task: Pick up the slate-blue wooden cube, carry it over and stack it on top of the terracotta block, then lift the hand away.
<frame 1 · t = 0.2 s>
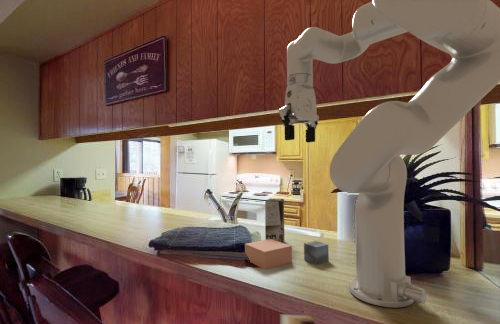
hand: (300, 141, 79), 36 cm above the countertop, tool pointing down, fingers open, 9 cm apart
slate cube: (316, 260, 80), on the countertop
terracotta block: (268, 261, 80), on the countertop
coffee box: (275, 243, 99), on the countertop
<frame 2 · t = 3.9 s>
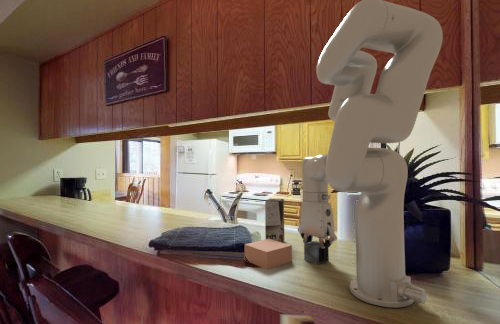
hand: (316, 258, 80), 1 cm above the countertop, tool pointing down, fingers closed on slate cube, 5 cm apart
slate cube: (316, 260, 80), on the countertop, touching gripper
everything else where it was.
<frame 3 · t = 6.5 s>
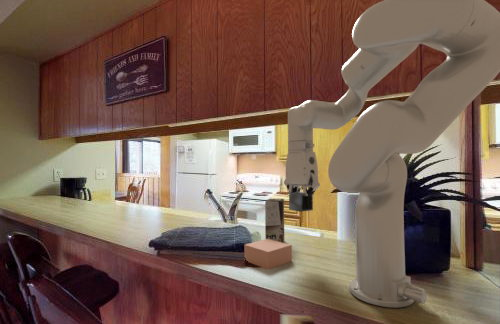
hand: (300, 207, 81), 16 cm above the countertop, tool pointing down, fingers closed on slate cube, 5 cm apart
slate cube: (300, 209, 81), point 15 cm above the countertop, touching gripper
everything else where it was.
when the fingers open (7 cm above the countertop, at t = 9.5 s): slate cube drops 2 cm, resting on terracotta block.
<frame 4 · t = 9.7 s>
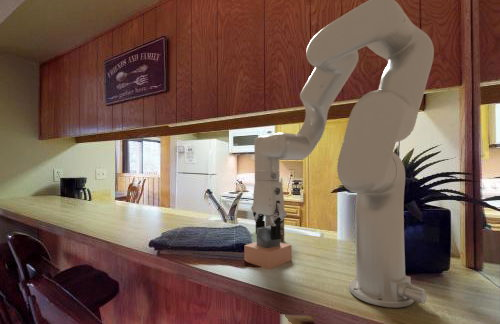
hand: (267, 236, 80), 7 cm above the countertop, tool pointing down, fingers open, 7 cm apart
slate cube: (268, 244, 80), point 5 cm above the countertop, touching terracotta block
terracotta block: (268, 261, 80), on the countertop, touching slate cube
everything else where it was.
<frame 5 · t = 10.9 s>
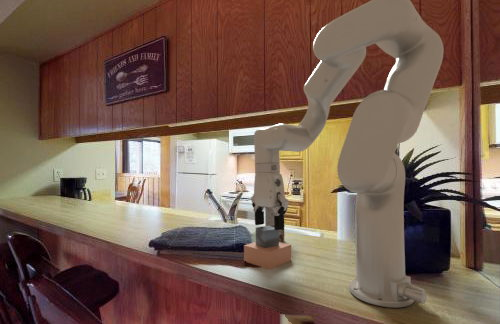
hand: (269, 226, 80), 10 cm above the countertop, tool pointing down, fingers open, 9 cm apart
nothing on the countertop moved.
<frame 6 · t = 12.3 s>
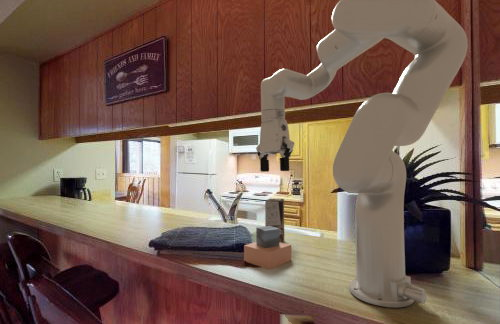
hand: (274, 171, 84), 27 cm above the countertop, tool pointing down, fingers open, 9 cm apart
nothing on the countertop moved.
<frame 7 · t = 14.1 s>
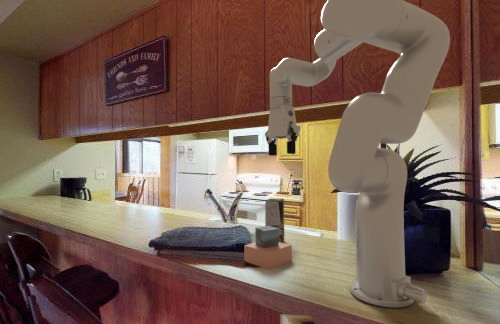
hand: (281, 154, 91), 32 cm above the countertop, tool pointing down, fingers open, 9 cm apart
nothing on the countertop moved.
at the end: slate cube 0.3 cm off-centre on the terracotta block, point 5.0 cm above the terracotta block's base; slate cube tilted 0°; the gripper is holding nothing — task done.
